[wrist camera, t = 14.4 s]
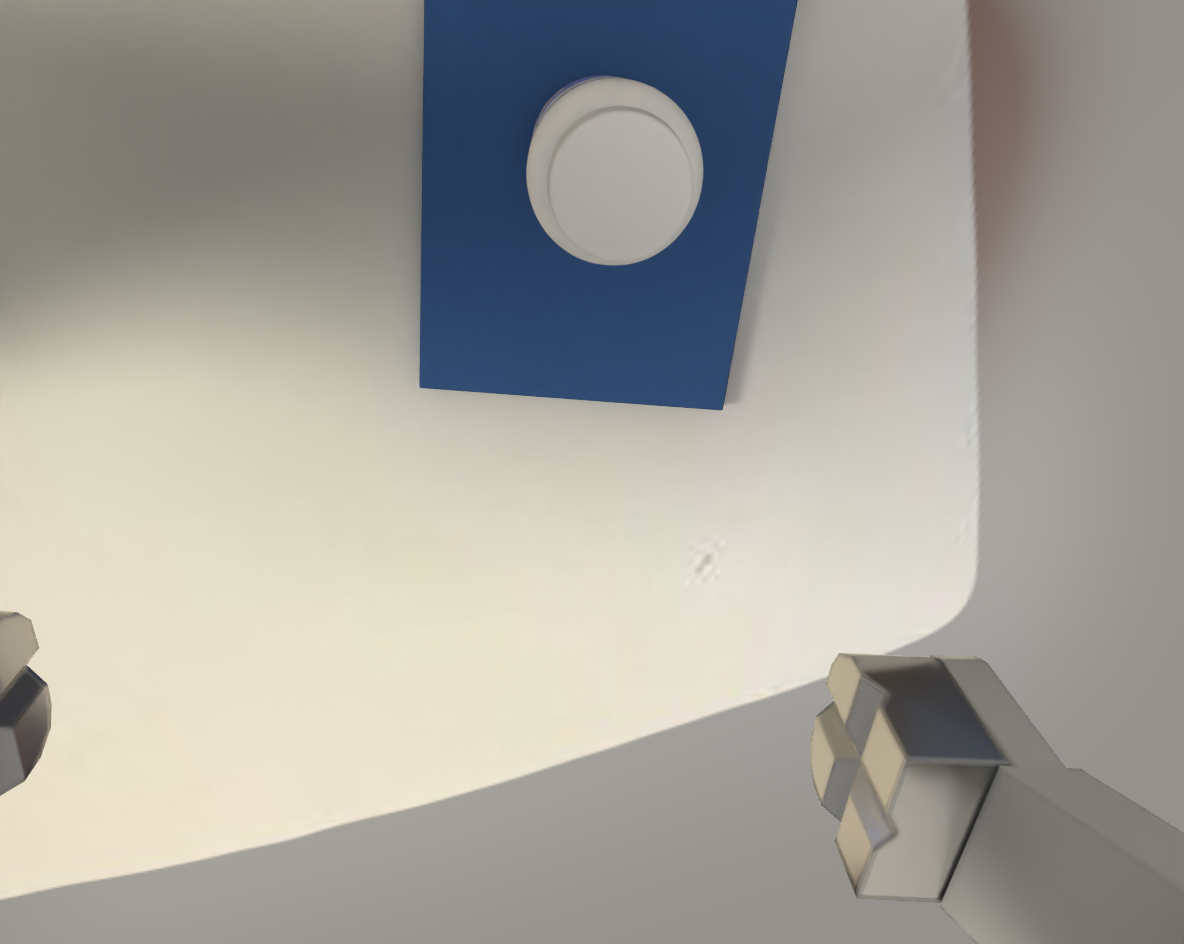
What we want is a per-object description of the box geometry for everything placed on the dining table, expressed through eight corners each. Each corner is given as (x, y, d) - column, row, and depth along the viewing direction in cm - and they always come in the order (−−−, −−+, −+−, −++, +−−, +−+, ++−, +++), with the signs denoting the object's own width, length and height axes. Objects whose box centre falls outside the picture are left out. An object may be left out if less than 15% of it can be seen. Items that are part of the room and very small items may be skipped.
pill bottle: (691, 196, 32) (747, 247, 24) (561, 248, 33) (569, 317, 24) (645, 48, 30) (688, 45, 21) (505, 107, 31) (492, 128, 22)
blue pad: (421, 383, 36) (419, 388, 35) (428, -202, 27) (426, -207, 26) (720, 405, 37) (722, 410, 36) (820, -147, 28) (825, -151, 28)
